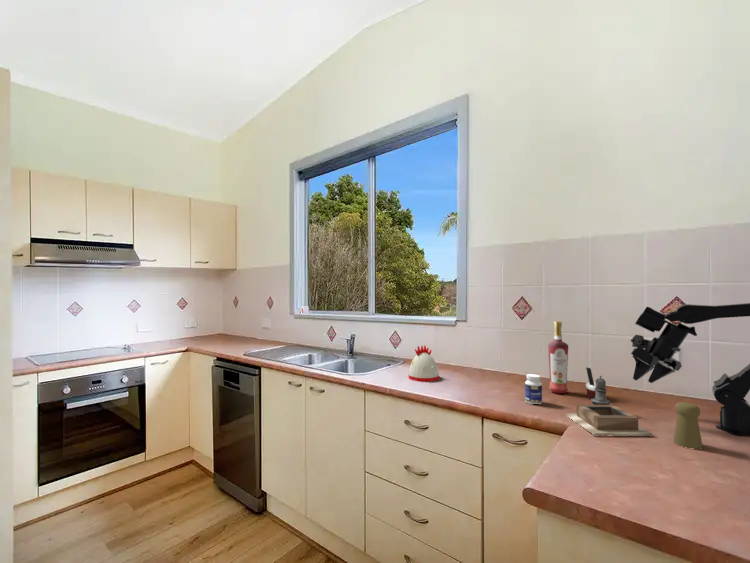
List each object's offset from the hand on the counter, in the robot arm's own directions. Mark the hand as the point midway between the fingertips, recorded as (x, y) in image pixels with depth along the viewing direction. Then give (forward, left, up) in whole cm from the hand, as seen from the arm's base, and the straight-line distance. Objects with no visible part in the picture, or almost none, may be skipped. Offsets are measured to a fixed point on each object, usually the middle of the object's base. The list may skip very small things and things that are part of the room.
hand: (642, 380), depth 122 cm
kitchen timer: (+49, +66, -12) cm, 83 cm away
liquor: (+26, +15, -11) cm, 32 cm away
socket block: (-9, +17, -11) cm, 23 cm away
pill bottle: (+13, +30, -12) cm, 35 cm away
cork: (-22, +3, -11) cm, 25 cm away
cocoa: (+18, +5, -12) cm, 22 cm away
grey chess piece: (+4, +11, -12) cm, 17 cm away
